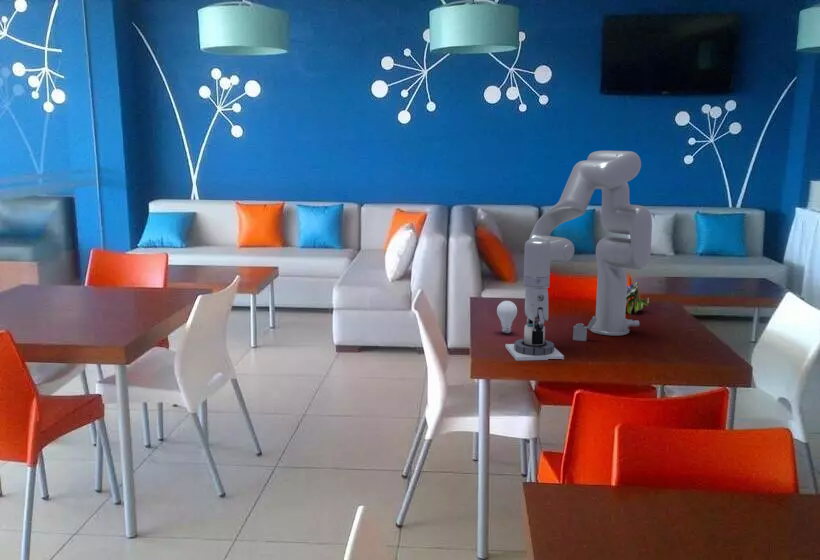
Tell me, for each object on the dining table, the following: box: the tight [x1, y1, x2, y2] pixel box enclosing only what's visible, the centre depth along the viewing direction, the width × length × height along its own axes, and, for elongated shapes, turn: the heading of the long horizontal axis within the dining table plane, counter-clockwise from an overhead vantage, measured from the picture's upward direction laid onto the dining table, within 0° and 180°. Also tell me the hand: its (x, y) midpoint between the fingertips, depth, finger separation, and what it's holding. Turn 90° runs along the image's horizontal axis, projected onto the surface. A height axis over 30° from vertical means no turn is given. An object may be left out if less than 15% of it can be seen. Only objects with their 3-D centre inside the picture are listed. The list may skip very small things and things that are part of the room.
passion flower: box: [626, 281, 650, 315], centre depth 274 cm, size 13×12×14 cm
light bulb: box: [496, 300, 518, 335], centre depth 240 cm, size 7×7×11 cm
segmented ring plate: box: [505, 338, 565, 362], centre depth 219 cm, size 14×14×3 cm
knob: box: [523, 323, 546, 345], centre depth 218 cm, size 6×6×6 cm
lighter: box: [572, 315, 597, 342], centre depth 233 cm, size 7×2×8 cm, turn 75°
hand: (534, 340), depth 218 cm, fingers closed on knob, 5 cm apart
